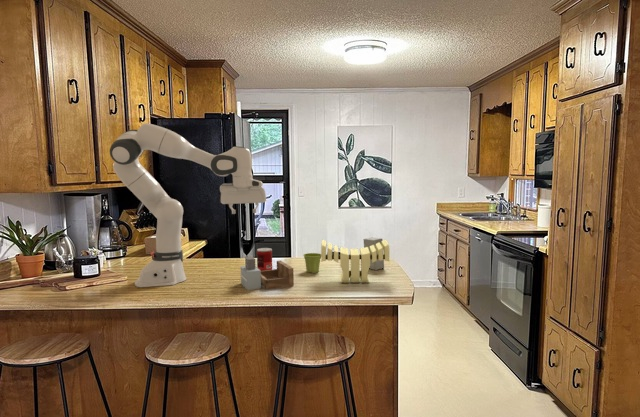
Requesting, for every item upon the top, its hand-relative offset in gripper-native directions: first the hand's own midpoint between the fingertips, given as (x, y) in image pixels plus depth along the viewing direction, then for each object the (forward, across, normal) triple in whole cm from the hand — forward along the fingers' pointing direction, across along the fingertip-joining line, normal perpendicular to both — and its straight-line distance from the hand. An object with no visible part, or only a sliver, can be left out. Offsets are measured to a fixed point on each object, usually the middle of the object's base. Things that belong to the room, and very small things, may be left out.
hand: (244, 213), depth 185 cm
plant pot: (+33, +31, +17) cm, 48 cm away
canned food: (+32, +7, +23) cm, 40 cm away
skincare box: (+33, +63, +19) cm, 74 cm away
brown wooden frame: (+32, +12, -3) cm, 34 cm away
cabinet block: (+32, +2, -6) cm, 33 cm away
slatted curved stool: (+33, +50, -2) cm, 59 cm away
